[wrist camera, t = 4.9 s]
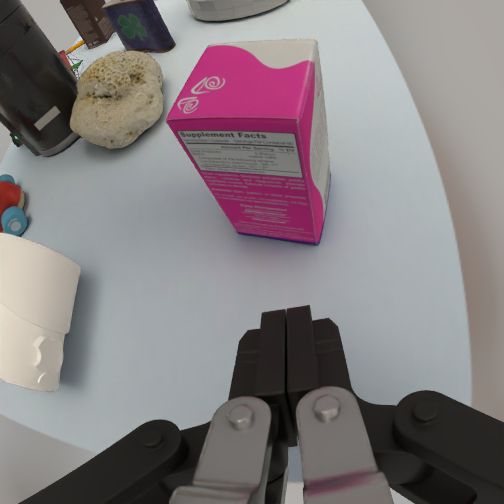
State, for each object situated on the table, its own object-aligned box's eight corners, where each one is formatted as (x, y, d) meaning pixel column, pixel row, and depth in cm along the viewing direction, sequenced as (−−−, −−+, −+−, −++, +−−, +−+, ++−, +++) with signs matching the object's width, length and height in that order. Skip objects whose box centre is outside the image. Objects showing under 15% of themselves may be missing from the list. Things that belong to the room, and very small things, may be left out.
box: (108, 41, 42) (77, -10, 31) (88, 50, 43) (56, 2, 32) (120, 25, 44) (93, -23, 33) (101, 33, 45) (73, -13, 34)
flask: (124, 53, 38) (92, -1, 28) (137, 41, 38) (107, -12, 29) (167, 53, 34) (134, -13, 25) (181, 41, 35) (152, -24, 25)
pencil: (121, 16, 44) (122, 16, 45) (61, 54, 44) (62, 54, 45) (123, 19, 45) (123, 20, 45) (62, 57, 45) (63, 57, 46)
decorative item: (72, 82, 30) (123, 21, 26) (126, 117, 37) (180, 65, 32) (37, 145, 24) (91, 67, 19) (108, 185, 30) (173, 124, 26)
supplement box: (253, 166, 24) (207, 40, 14) (332, 175, 23) (325, 36, 12) (233, 235, 22) (160, 117, 12) (319, 248, 21) (308, 119, 10)
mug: (108, 277, 23) (36, 234, 16) (82, 394, 20) (-1, 386, 13) (23, 262, 26) (-35, 228, 19) (2, 352, 23) (-63, 333, 16)
